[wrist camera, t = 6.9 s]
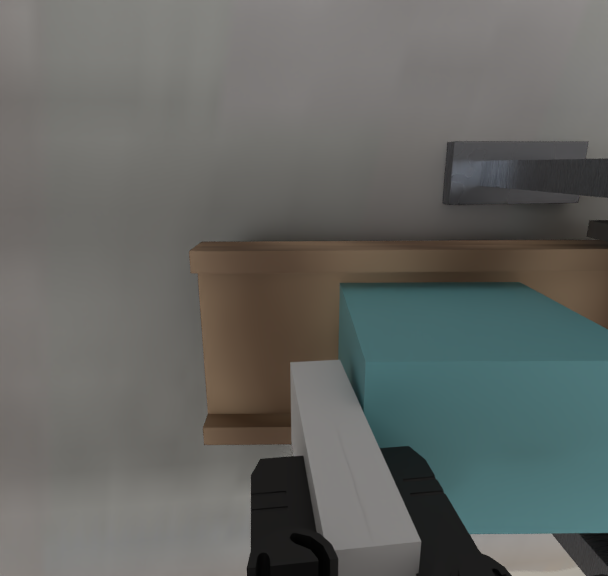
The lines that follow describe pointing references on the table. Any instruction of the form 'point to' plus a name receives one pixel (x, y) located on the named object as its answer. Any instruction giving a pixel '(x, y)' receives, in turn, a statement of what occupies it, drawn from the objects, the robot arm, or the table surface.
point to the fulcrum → (531, 189)
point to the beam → (325, 307)
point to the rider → (486, 397)
